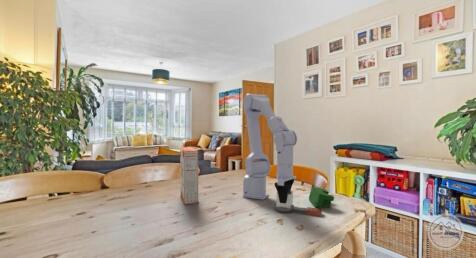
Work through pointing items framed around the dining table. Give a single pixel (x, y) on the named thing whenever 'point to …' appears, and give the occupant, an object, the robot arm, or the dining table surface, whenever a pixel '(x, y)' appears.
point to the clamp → (320, 197)
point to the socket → (288, 202)
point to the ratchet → (300, 210)
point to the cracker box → (189, 175)
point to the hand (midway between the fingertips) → (284, 200)
